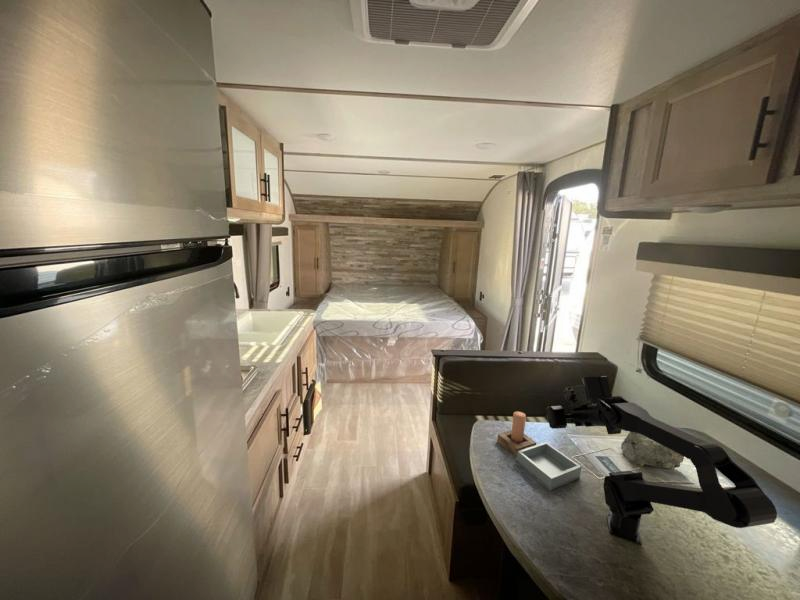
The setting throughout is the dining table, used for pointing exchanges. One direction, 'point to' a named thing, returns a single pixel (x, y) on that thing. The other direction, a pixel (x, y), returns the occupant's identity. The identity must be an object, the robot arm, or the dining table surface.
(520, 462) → the tray
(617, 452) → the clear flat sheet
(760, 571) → the dining table surface
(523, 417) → the dowel
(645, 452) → the stone
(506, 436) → the socket block
